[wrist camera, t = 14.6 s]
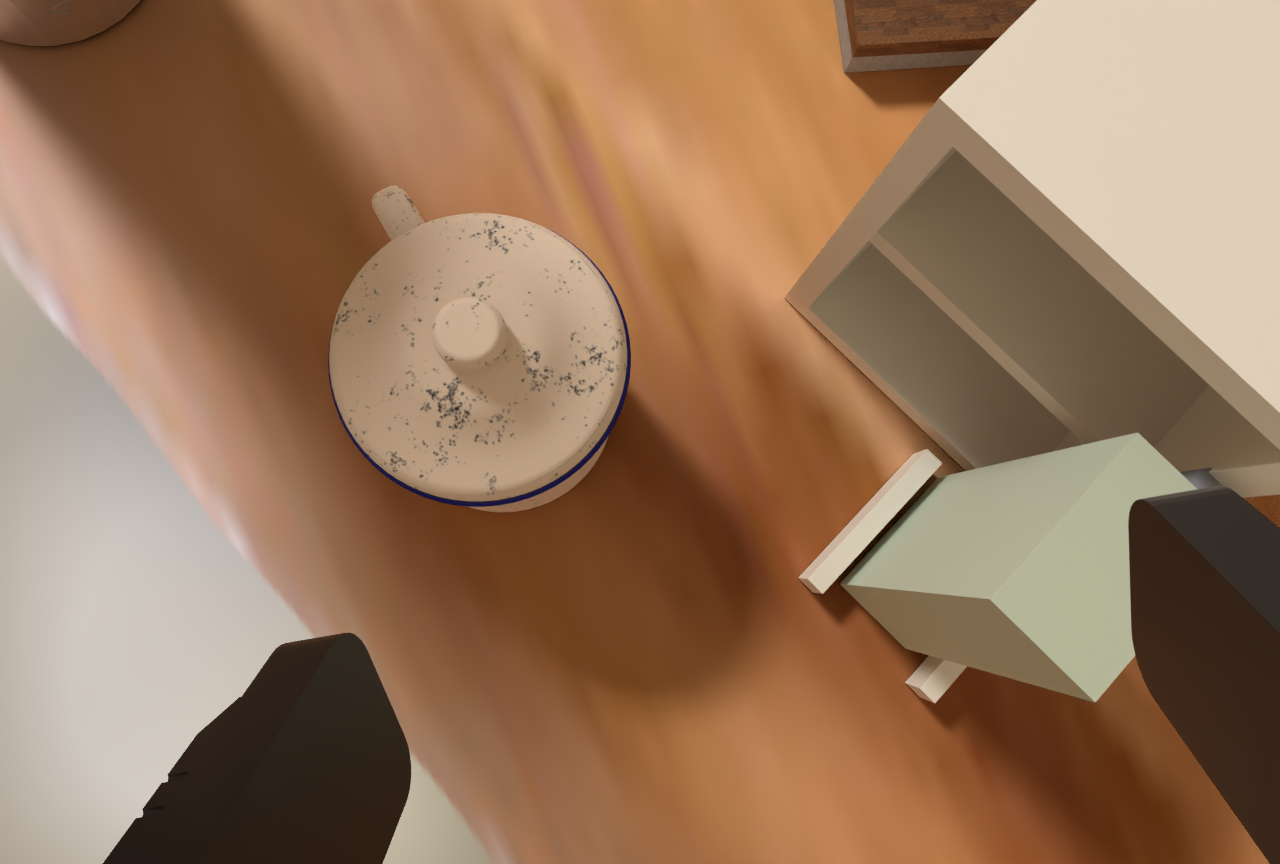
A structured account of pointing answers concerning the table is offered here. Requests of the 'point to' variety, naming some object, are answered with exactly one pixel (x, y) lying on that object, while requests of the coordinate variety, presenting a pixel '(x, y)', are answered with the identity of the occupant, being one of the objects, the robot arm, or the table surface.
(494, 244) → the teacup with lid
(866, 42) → the display case
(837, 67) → the table surface
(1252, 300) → the cabinet
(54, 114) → the table surface
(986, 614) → the door
